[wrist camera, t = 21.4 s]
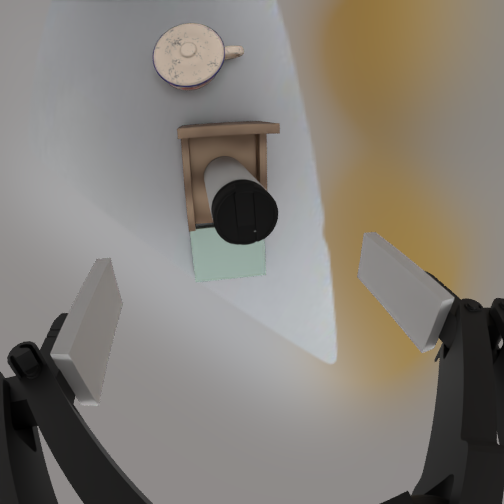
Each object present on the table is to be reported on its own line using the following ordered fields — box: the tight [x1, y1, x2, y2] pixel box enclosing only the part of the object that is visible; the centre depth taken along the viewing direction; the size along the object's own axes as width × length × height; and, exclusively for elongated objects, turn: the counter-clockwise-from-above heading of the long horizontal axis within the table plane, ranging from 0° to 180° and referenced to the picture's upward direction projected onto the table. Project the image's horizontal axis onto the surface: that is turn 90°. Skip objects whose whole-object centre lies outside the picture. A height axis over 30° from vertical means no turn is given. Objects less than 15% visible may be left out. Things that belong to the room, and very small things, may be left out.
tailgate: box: [190, 226, 266, 282], centre depth 50 cm, size 2×12×9 cm
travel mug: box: [204, 156, 278, 245], centre depth 36 cm, size 6×7×20 cm
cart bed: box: [177, 121, 280, 232], centre depth 41 cm, size 16×12×12 cm
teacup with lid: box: [153, 23, 244, 90], centre depth 33 cm, size 12×9×12 cm
